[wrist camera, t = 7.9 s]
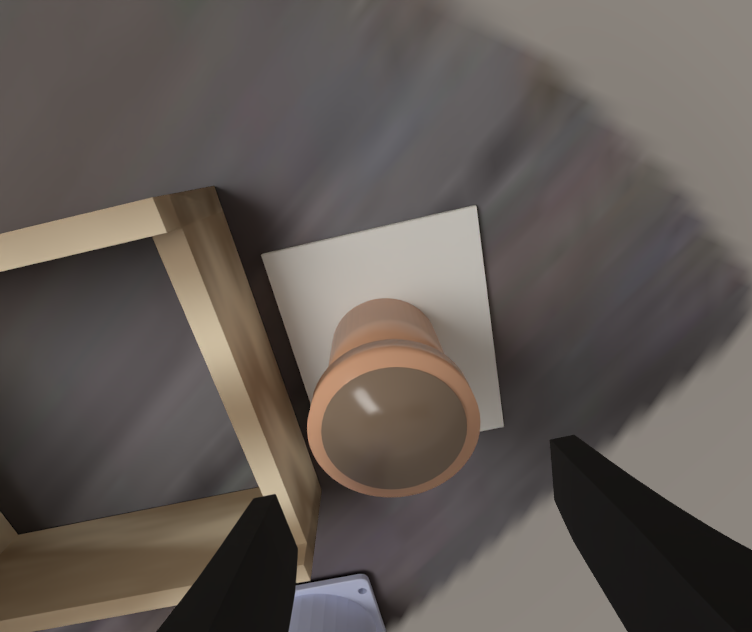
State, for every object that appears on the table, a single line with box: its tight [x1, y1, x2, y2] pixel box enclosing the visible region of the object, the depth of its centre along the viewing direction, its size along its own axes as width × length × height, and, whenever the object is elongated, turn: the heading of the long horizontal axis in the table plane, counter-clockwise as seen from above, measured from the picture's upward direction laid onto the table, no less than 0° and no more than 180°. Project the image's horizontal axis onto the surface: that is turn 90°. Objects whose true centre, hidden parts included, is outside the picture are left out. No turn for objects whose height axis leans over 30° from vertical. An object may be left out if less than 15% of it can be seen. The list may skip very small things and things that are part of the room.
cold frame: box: [0, 186, 322, 632], centre depth 16 cm, size 16×18×6 cm
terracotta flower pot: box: [307, 298, 481, 497], centre depth 16 cm, size 6×6×6 cm
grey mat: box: [261, 205, 504, 431], centre depth 19 cm, size 11×9×1 cm
